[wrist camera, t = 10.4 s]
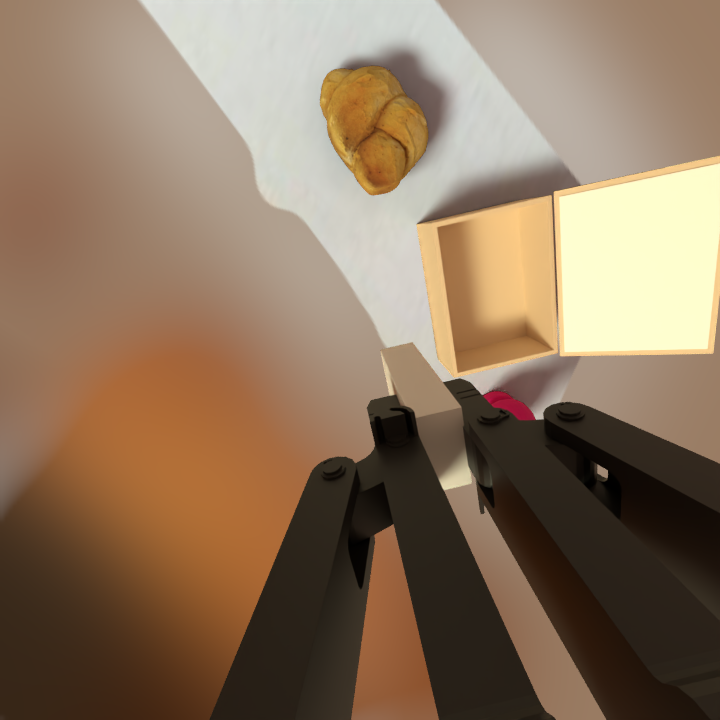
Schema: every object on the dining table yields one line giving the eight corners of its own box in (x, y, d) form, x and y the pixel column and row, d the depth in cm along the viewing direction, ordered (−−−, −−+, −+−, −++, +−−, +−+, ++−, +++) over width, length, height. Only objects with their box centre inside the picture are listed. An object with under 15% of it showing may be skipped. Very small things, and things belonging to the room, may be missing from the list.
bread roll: (300, 103, 41) (295, 75, 33) (373, 44, 40) (385, 1, 32) (367, 208, 45) (375, 203, 38) (435, 157, 44) (458, 142, 36)
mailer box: (416, 224, 46) (431, 223, 39) (519, 200, 46) (551, 195, 40) (437, 359, 52) (454, 377, 46) (528, 337, 52) (558, 353, 46)
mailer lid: (736, 152, 32) (733, 152, 33) (553, 191, 39) (554, 191, 40) (713, 354, 38) (711, 351, 39) (559, 356, 45) (560, 354, 46)
